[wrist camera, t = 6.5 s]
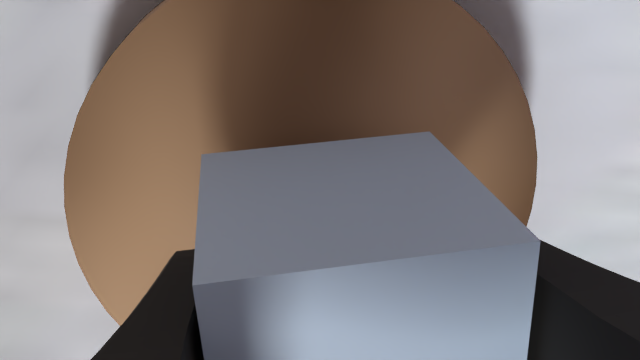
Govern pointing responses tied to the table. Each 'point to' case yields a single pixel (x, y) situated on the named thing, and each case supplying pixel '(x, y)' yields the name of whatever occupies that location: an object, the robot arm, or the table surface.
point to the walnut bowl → (275, 113)
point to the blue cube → (358, 255)
